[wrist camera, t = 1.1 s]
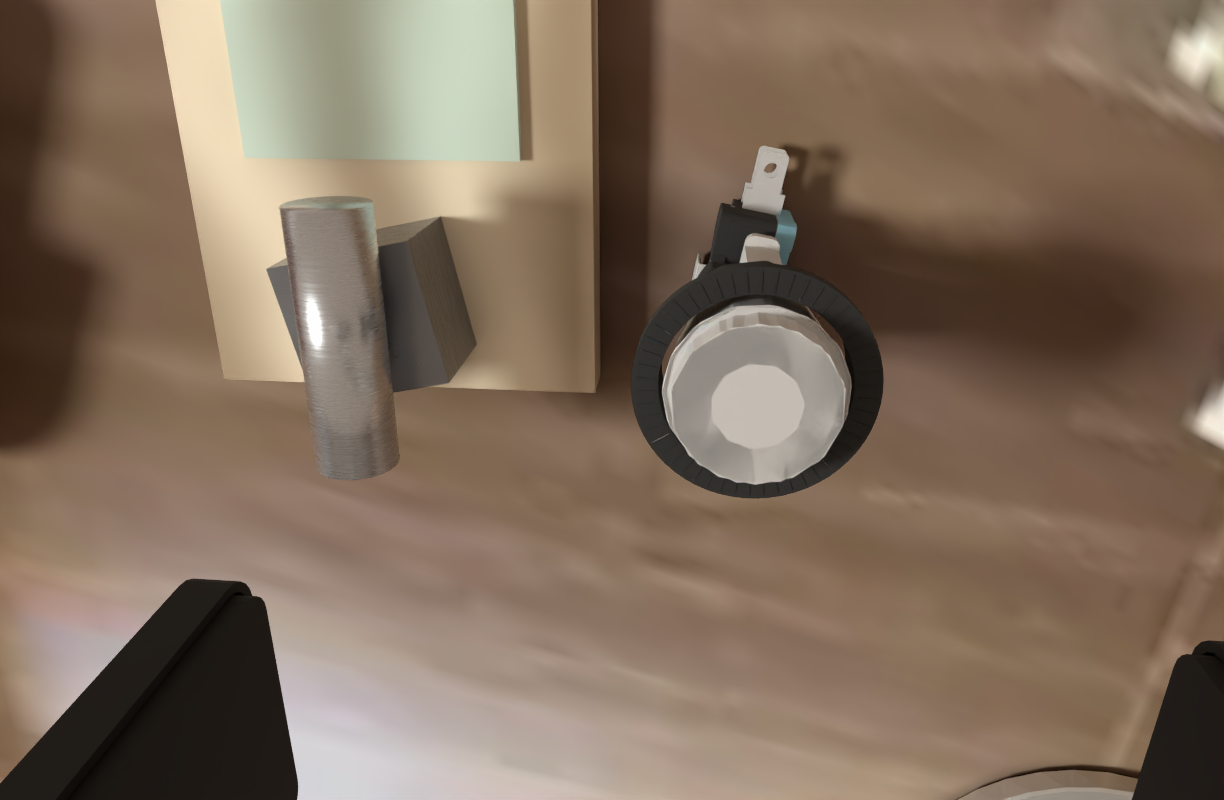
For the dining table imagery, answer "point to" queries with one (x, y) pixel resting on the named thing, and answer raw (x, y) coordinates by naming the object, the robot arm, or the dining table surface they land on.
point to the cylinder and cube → (366, 323)
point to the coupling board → (401, 161)
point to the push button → (756, 360)
